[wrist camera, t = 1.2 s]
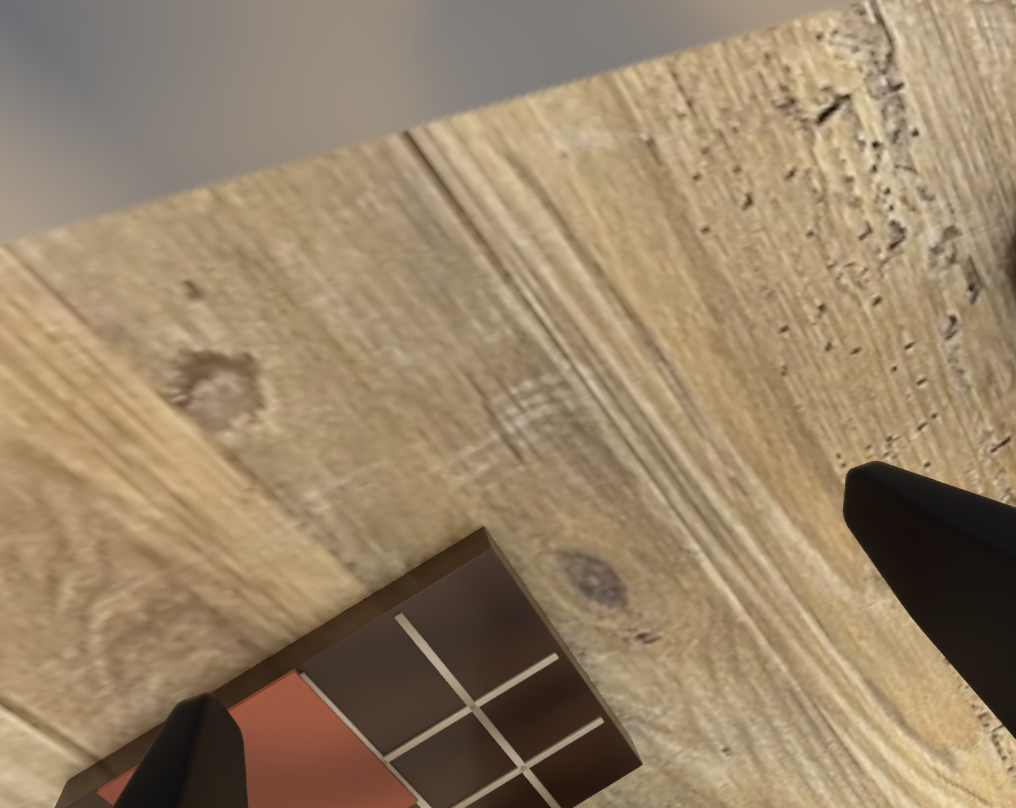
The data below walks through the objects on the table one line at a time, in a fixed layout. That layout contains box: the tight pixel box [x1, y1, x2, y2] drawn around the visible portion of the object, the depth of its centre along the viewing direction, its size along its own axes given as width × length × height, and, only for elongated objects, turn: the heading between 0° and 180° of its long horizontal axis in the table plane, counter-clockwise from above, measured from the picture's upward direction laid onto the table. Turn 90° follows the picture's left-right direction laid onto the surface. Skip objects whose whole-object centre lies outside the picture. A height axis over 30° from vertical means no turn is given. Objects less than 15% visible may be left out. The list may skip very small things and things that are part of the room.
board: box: [55, 527, 643, 808], centre depth 27 cm, size 13×18×2 cm
